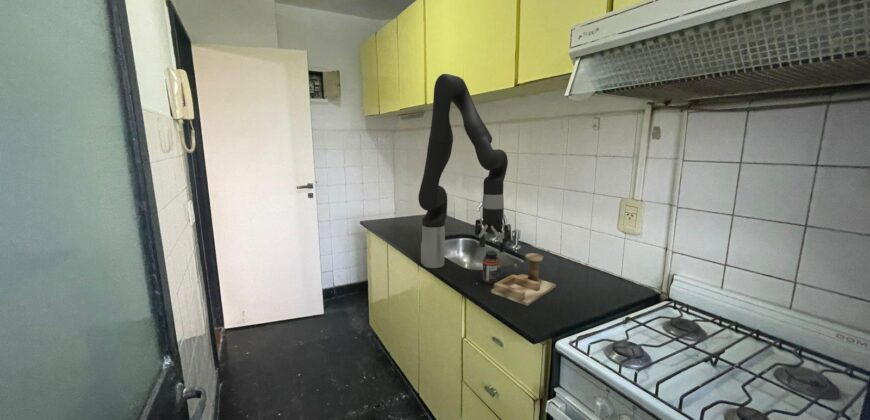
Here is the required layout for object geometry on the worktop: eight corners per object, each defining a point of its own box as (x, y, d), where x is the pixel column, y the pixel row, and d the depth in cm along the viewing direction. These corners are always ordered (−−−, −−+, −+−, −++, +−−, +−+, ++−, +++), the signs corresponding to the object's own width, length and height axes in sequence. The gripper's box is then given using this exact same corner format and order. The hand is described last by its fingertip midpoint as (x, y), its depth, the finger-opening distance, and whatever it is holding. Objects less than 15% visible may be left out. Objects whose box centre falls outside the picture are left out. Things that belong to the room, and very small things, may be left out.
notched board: (490, 292, 122) (491, 283, 122) (521, 276, 136) (521, 267, 136) (526, 306, 113) (527, 295, 112) (555, 286, 127) (556, 277, 126)
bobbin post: (521, 282, 128) (522, 256, 126) (529, 277, 133) (531, 252, 131) (536, 287, 124) (537, 260, 122) (544, 282, 129) (546, 255, 126)
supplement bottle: (481, 277, 135) (482, 249, 133) (497, 277, 135) (498, 249, 132) (482, 284, 129) (483, 254, 127) (499, 284, 129) (500, 255, 127)
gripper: (470, 205, 128) (470, 247, 132) (504, 210, 119) (502, 256, 122) (483, 202, 134) (482, 243, 137) (516, 207, 124) (514, 251, 127)
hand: (492, 249), depth 129 cm, fingers open, 8 cm apart
